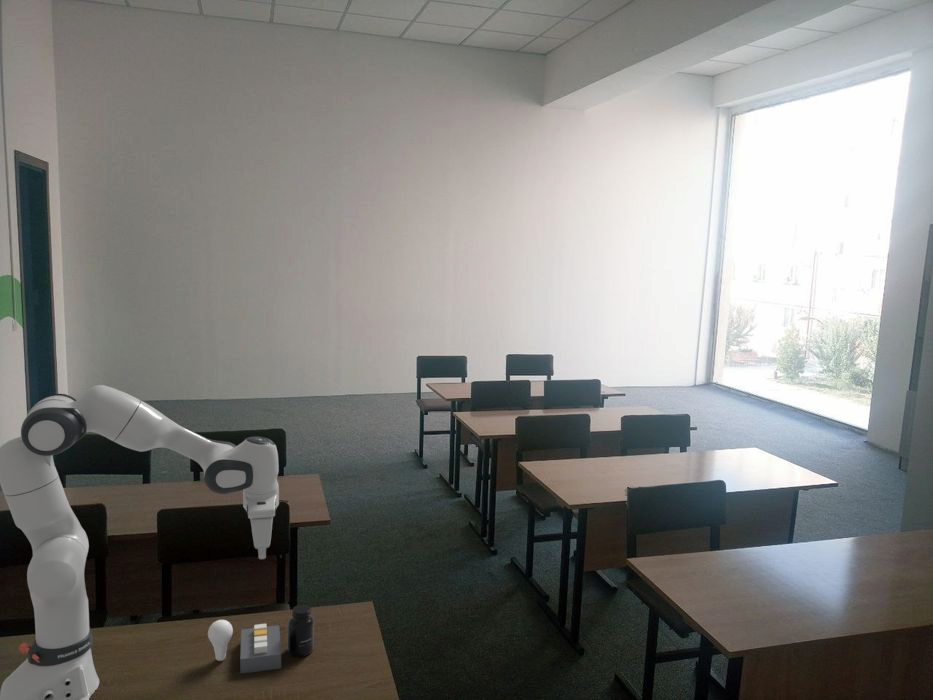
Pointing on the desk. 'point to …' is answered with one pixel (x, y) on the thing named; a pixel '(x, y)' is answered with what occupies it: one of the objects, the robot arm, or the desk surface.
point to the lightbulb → (220, 637)
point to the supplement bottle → (300, 631)
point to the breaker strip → (260, 658)
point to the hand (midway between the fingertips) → (261, 549)
